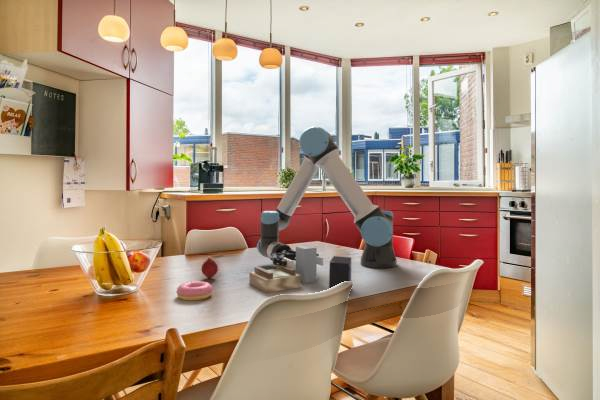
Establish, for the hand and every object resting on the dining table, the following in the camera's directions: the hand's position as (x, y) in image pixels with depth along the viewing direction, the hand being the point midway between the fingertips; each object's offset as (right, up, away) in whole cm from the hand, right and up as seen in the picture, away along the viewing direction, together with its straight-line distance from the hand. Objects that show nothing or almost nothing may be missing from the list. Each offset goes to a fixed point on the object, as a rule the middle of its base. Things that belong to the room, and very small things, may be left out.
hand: (307, 263), depth 141 cm
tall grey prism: (-1, -7, +3) cm, 7 cm away
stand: (-11, -7, -4) cm, 14 cm away
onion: (-36, -7, +5) cm, 37 cm away
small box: (+11, -8, -11) cm, 17 cm away
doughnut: (-35, -8, -17) cm, 40 cm away
